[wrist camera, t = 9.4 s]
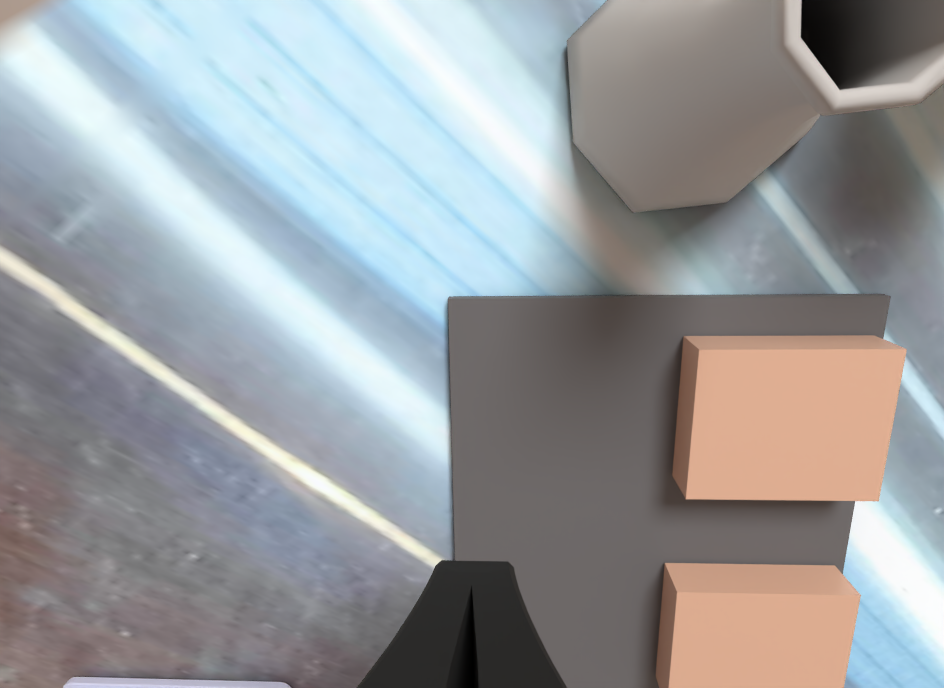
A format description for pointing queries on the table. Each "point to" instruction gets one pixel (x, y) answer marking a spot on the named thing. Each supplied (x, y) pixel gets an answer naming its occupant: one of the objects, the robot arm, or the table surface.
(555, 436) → the mat
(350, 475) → the table surface
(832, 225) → the table surface
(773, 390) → the tile
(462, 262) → the table surface
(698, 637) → the tile
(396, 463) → the table surface
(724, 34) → the flask
